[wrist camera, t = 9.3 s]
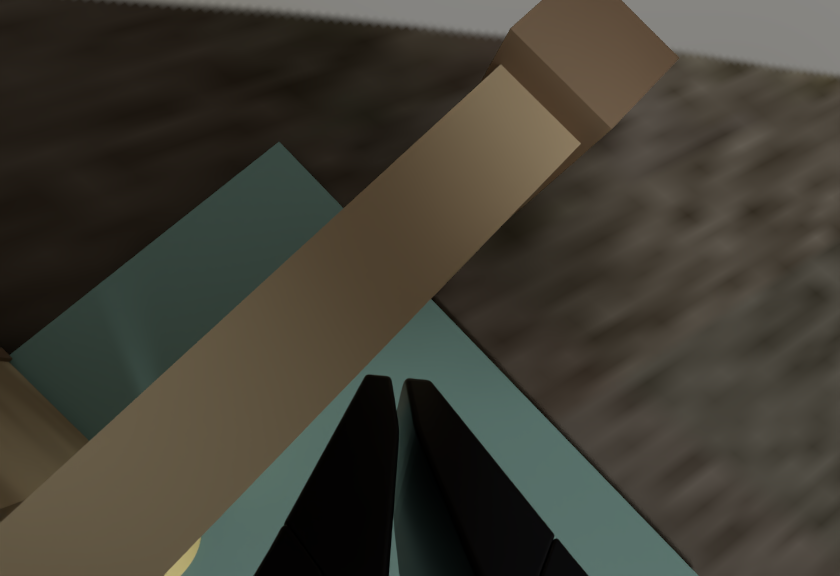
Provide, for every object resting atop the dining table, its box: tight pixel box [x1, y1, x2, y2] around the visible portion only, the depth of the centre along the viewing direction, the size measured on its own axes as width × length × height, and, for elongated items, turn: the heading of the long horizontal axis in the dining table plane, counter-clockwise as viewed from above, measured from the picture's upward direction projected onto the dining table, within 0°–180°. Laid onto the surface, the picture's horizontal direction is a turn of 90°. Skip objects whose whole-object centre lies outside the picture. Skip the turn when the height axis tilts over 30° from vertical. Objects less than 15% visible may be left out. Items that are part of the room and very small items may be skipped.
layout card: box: [9, 142, 698, 576], centre depth 13 cm, size 16×13×1 cm
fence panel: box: [0, 0, 679, 576], centre depth 9 cm, size 8×1×10 cm, turn 136°
